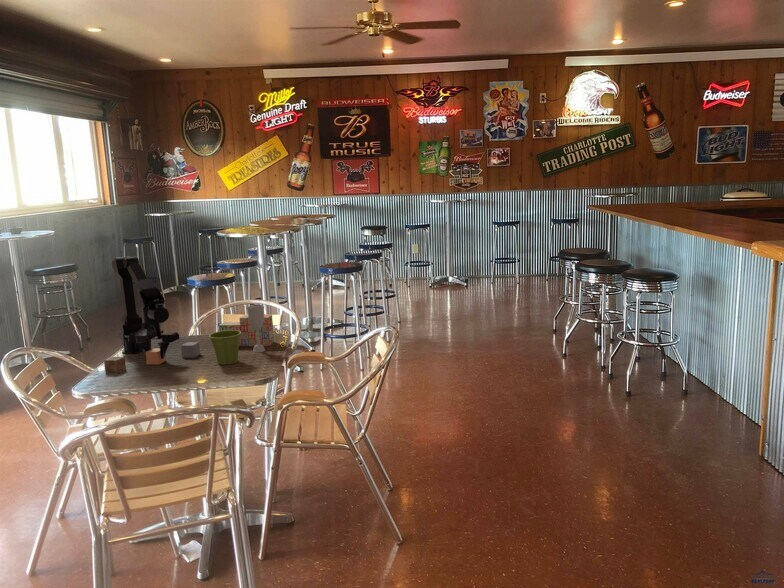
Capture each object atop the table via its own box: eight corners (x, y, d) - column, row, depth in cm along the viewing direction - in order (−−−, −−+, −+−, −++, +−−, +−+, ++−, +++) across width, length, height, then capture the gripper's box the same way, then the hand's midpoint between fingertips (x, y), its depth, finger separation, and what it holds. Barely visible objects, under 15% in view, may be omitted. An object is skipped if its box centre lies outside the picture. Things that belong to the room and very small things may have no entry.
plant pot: (219, 358, 236) (217, 330, 235) (248, 358, 235) (246, 329, 233) (206, 367, 225) (203, 337, 223) (236, 367, 223) (233, 337, 221)
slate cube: (182, 357, 240) (181, 345, 239) (189, 354, 245) (187, 342, 244) (193, 357, 239) (192, 345, 238) (200, 354, 244) (199, 342, 243)
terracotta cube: (146, 364, 232) (145, 351, 231) (154, 360, 237) (153, 348, 236) (158, 364, 231) (157, 352, 230) (166, 360, 236) (164, 348, 235)
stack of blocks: (220, 346, 255) (217, 318, 252) (226, 342, 261) (223, 315, 259) (270, 345, 252) (267, 317, 250) (274, 342, 259) (272, 313, 256)
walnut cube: (105, 373, 223) (103, 360, 222) (114, 369, 228) (112, 356, 227) (117, 373, 222) (115, 360, 221) (126, 369, 226) (124, 356, 226)
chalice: (247, 352, 242) (243, 308, 239) (253, 348, 249) (250, 305, 246) (264, 353, 241) (260, 308, 238) (270, 348, 248) (267, 305, 244)
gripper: (116, 323, 225) (121, 364, 228) (161, 324, 221) (165, 365, 224) (135, 317, 236) (139, 355, 239) (178, 317, 232) (182, 356, 235)
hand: (156, 358), depth 234 cm, fingers open, 5 cm apart
